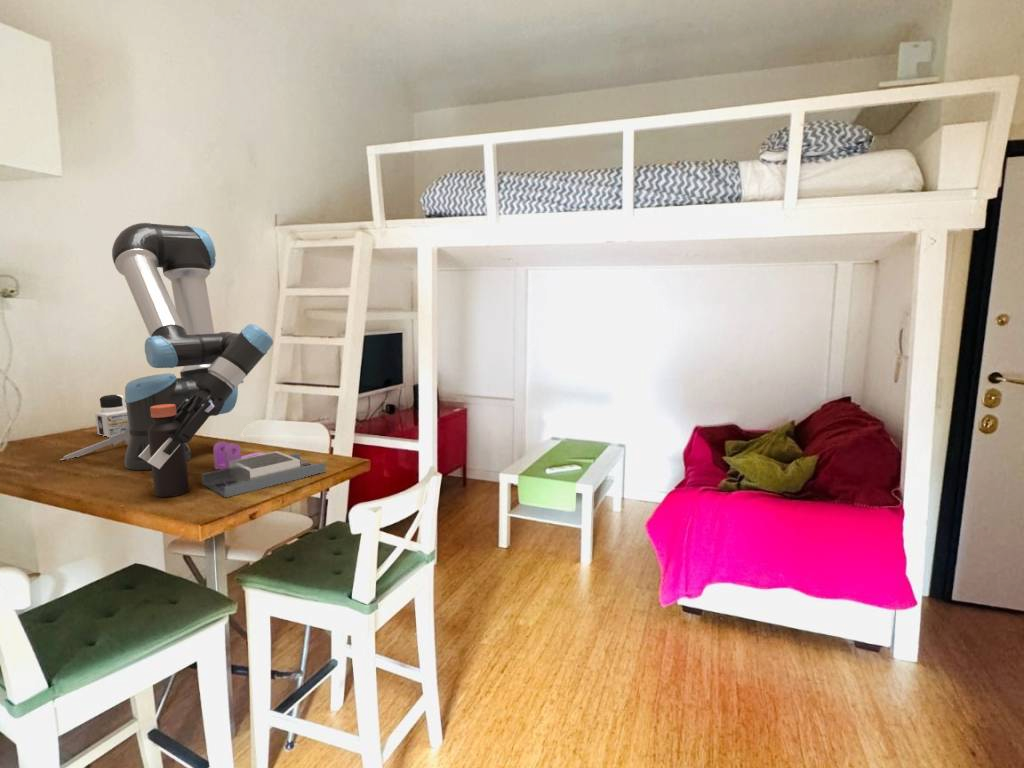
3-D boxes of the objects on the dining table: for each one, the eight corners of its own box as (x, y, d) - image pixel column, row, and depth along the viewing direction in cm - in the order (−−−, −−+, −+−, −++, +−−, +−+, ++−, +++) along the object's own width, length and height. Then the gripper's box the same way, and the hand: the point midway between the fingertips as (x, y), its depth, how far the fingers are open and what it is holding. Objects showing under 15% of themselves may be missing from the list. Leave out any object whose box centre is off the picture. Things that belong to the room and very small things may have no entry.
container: (109, 438, 180) (104, 398, 178) (97, 435, 183) (92, 396, 182) (135, 433, 186) (130, 394, 184) (123, 430, 190) (118, 392, 188)
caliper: (135, 444, 172) (133, 424, 171) (137, 445, 172) (135, 425, 171) (58, 462, 154) (55, 439, 153) (60, 462, 153) (58, 440, 153)
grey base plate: (202, 484, 133) (200, 465, 133) (298, 462, 151) (297, 445, 150) (225, 497, 124) (223, 478, 123) (325, 472, 141) (324, 455, 141)
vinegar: (195, 487, 131) (186, 402, 128) (179, 497, 124) (170, 408, 121) (165, 488, 131) (156, 403, 128) (148, 498, 124) (137, 409, 121)
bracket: (229, 472, 143) (226, 445, 142) (215, 469, 146) (212, 443, 144) (271, 459, 154) (269, 434, 153) (258, 456, 157) (256, 432, 156)
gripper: (249, 394, 129) (177, 480, 120) (217, 386, 142) (150, 463, 132) (223, 374, 124) (146, 461, 115) (192, 367, 137) (121, 446, 128)
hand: (148, 462), depth 124 cm, fingers closed on vinegar, 6 cm apart
